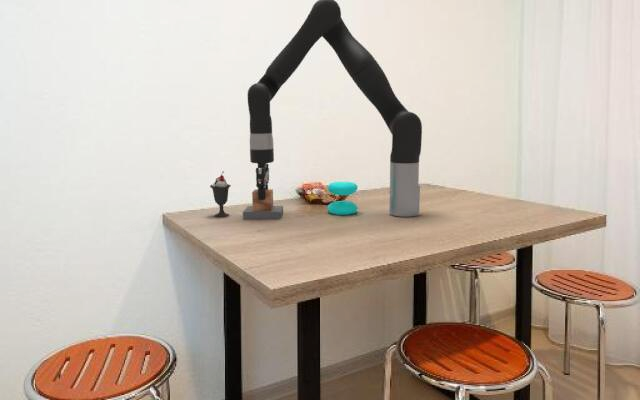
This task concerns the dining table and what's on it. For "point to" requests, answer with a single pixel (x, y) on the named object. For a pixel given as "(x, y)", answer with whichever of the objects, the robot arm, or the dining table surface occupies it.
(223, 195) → the sundae
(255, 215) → the base
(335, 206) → the donuts
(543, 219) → the dining table surface
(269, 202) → the cube
